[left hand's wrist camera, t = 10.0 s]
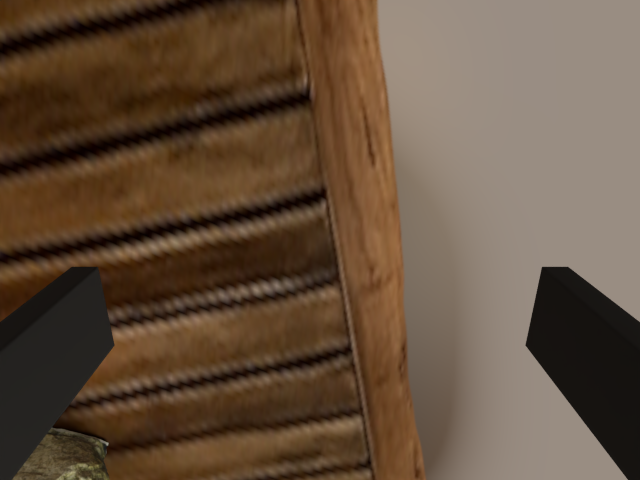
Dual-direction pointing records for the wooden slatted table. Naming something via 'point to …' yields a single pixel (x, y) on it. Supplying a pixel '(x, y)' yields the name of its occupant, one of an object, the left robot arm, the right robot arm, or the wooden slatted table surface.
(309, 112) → the wooden slatted table surface
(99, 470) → the fossil
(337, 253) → the wooden slatted table surface
